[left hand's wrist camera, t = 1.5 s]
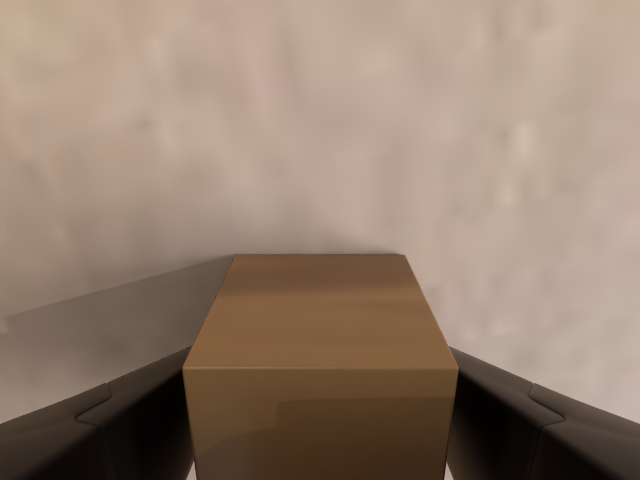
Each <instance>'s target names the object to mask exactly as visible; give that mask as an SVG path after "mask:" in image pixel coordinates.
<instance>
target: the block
mask: <svg viewBox="0 0 640 480" xmlns="http://www.w3.org/2000/svg"><path fill="white" fill-rule="evenodd" d="M458 369H459V368H458V365H457V363H456V361H455V359H454V357H453V355H452V353H451V351H450V348H449V346H448V344H447V342H446V340H445V338H444V336H443V334H442V332H441V330H440V328H439V325H438V323H437V321H436V319H435V317H434V315H433V313H432V311H431V309H430V307H429V304H428V302H427V300H426V298H425V296H424V294H423V292H422V290H421V288H420V286H419V284H418V281H417V279H416V277H415V275H414V273H413V271H412V269H411V267H410V265H409V263H408V261H407V258H406V256H405V255H235V258H234V260H233V262H232V264H231V266H230V268H229V270H228V272H227V274H226V276H225V279H224V281H223V283H222V285H221V287H220V289H219V291H218V293H217V295H216V297H215V300H214V302H213V304H212V306H211V308H210V310H209V312H208V314H207V316H206V318H205V321H204V323H203V325H202V327H201V329H200V331H199V333H198V335H197V337H196V339H195V342H194V344H193V346H192V348H191V350H190V352H189V354H188V356H187V358H186V360H185V363H184V365H183V367H182V372H183V379H184V387H185V394H186V402H187V409H188V417H189V425H190V432H191V440H192V447H193V455H194V462H195V470H196V478H197V480H444V476H445V469H446V461H447V453H448V446H449V438H450V430H451V423H452V415H453V407H454V400H455V392H456V385H457V377H458Z"/></svg>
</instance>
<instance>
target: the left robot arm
mask: <svg viewBox="0 0 640 480" xmlns="http://www.w3.org/2000/svg"><path fill="white" fill-rule="evenodd" d="M192 346H193V345H192ZM192 346H190V347H188V348H186V349H183V350H181V351H179V352H176V353H174V354H172V355H170V356H167V357H165V358H163V359H160V360H158V361H156V362H153V363H151V364H149V365H147V366H144V367H142V368H140V369H137V370H135V371H133V372H131V373H128V374H126V375H124V376H121V377H119V378H117V379H114V380H112V381H110V382H108V383H107V384H106V383H104V384H102V385H99V386H97V387H95V388H92V389H90V390H88V391H85V392H83V393H80V394H78V395H76V396H73V397H71V398H68V399H65V400H63V401H60V402H58V403H55V404H52V405H50V406H47V407H44V408H42V409H39V410H36V411H34V412H31V413H28V414H26V415H23V416H20V417H18V418H15V419H12V420H9V421H7V422H4V423H1V424H0V480H186V479H187V476H188V474H189V471H190V469H191V466H192V464H193V462H194V455H193V447H192V440H191V432H190V425H189V417H188V409H187V402H186V394H185V387H184V379H183V372H182V367H183V365H184V363H185V360H186V358H187V356H188V354H189V352H190V350H191V348H192ZM449 348H450V351H451V353H452V355H453V357H454V359H455V361H456V363H457V365H458V368H459V369H458V377H457V385H456V392H455V400H454V407H453V415H452V423H451V430H450V438H449V446H448V453H447V461H446V462H447V464H448V467H449V469H450V472H451V474H452V476H453V479H454V480H640V424H639V423H636V422H633V421H630V420H628V419H625V418H622V417H620V416H617V415H614V414H612V413H609V412H606V411H604V410H601V409H598V408H596V407H593V406H590V405H588V404H585V403H582V402H580V401H577V400H575V399H572V398H569V397H567V396H564V395H562V394H560V393H557V392H555V391H552V390H550V389H548V388H545V387H543V386H541V385H538V384H536V383H532V382H530V381H528V380H526V379H523V378H521V377H519V376H516V375H514V374H512V373H509V372H507V371H505V370H503V369H500V368H498V367H496V366H493V365H491V364H489V363H487V362H484V361H482V360H480V359H477V358H475V357H473V356H470V355H468V354H466V353H464V352H461V351H459V350H457V349H454V348H452V347H450V346H449Z"/></svg>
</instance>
